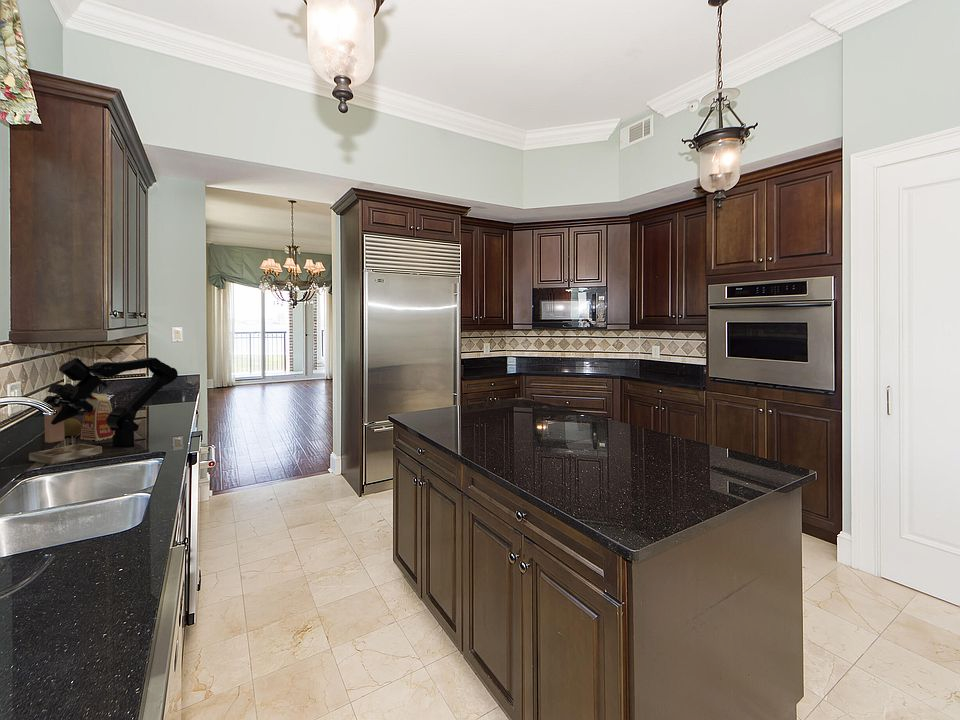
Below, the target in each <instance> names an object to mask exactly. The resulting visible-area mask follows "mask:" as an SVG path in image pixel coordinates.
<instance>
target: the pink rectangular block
mask: <svg viewBox="0 0 960 720" xmlns="http://www.w3.org/2000/svg"><path fill="white" fill-rule="evenodd" d="M51 407H52V406H51ZM52 408H53V409H54V410H56V411H57V414H58V413H59V412H60V411H61V409H62V407H60V406H58V407H52ZM57 414H55V415H46V414H43V418H44V421H43V422H44V443H49V444H50V443H56V442H61V441H65V439H66V436H65V435H64V421H61V422H59V423H57V424H55V425H53V424H51V422H52V421H53V419H54V418H55V417H56V416H57Z"/></svg>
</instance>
